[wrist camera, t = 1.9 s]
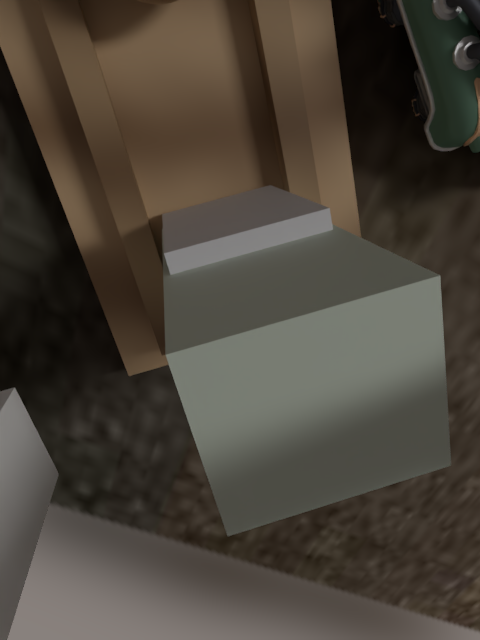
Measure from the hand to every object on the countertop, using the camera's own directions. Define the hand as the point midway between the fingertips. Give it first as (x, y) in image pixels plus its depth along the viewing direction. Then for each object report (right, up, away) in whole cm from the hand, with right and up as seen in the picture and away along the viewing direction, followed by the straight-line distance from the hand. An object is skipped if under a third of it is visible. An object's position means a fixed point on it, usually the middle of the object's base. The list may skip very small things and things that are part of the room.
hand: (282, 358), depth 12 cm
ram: (-2, +4, +8) cm, 9 cm away
